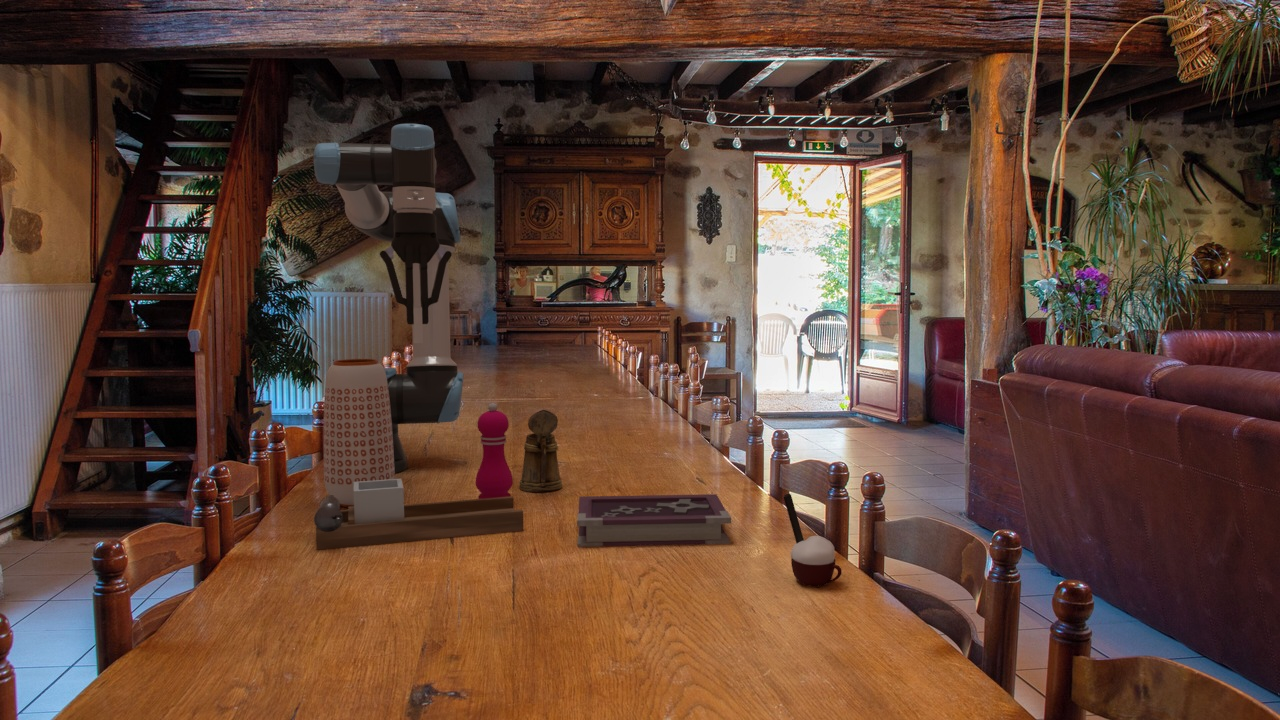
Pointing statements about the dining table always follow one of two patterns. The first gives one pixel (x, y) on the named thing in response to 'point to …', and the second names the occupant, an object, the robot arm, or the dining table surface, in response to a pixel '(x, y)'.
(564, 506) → the dining table surface
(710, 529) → the book
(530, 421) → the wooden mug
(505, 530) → the bay
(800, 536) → the cocoa
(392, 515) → the box
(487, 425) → the pepper mill
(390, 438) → the planter
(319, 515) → the dark grey rounded lump
